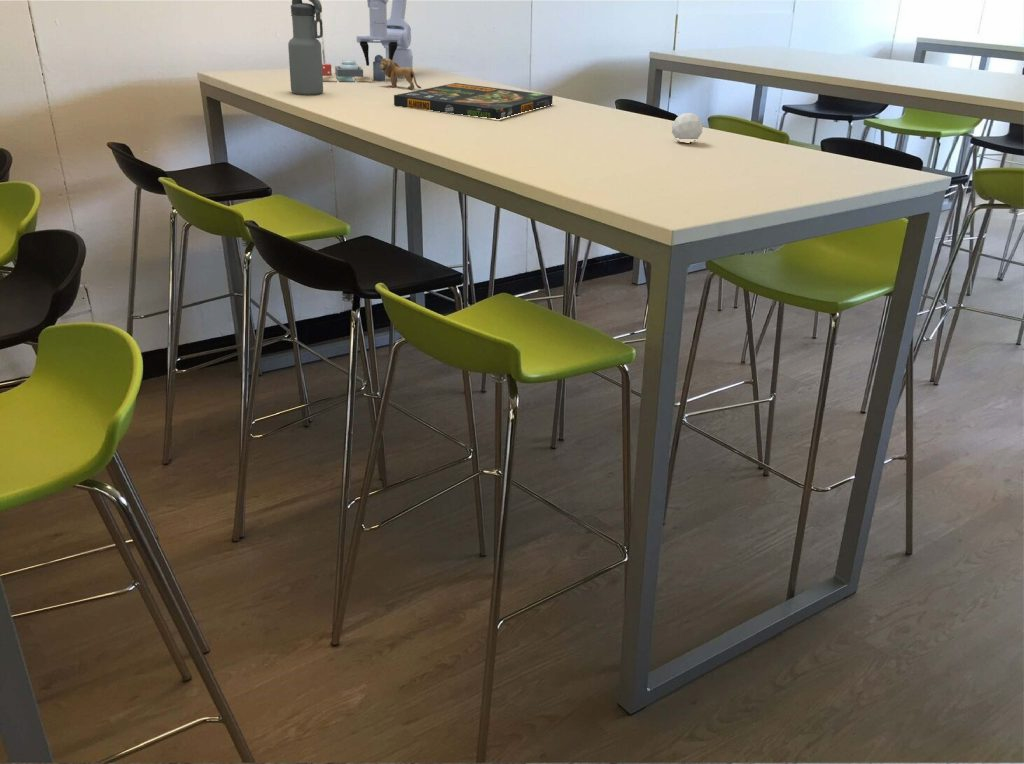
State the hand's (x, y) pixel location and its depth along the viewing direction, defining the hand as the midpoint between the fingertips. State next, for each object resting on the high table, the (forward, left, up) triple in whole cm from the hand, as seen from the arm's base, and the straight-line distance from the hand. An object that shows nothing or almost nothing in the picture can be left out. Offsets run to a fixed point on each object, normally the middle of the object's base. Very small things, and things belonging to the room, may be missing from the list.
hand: (378, 65), depth 303 cm
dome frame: (+9, -12, -5) cm, 15 cm away
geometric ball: (-65, +106, -5) cm, 124 cm away
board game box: (-22, +50, -6) cm, 55 cm away
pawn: (0, 0, -5) cm, 5 cm away
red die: (+17, -12, -5) cm, 21 cm away
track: (+11, 0, -5) cm, 12 cm away
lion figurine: (-4, +16, -5) cm, 18 cm away
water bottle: (+26, +28, -5) cm, 38 cm away
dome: (+9, -12, -5) cm, 15 cm away
